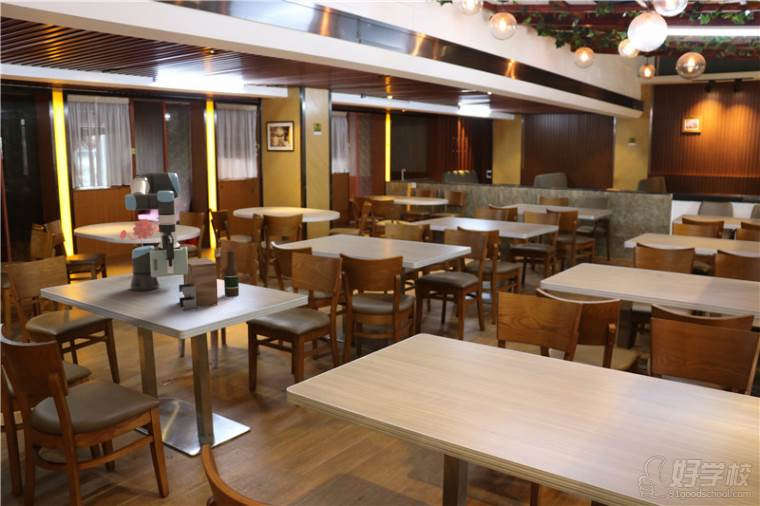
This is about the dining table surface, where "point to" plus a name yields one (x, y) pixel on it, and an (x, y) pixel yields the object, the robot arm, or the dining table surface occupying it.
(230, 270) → the beer bottle
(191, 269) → the cabinet
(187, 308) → the grey open frame
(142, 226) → the red flower bouquet
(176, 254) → the door
